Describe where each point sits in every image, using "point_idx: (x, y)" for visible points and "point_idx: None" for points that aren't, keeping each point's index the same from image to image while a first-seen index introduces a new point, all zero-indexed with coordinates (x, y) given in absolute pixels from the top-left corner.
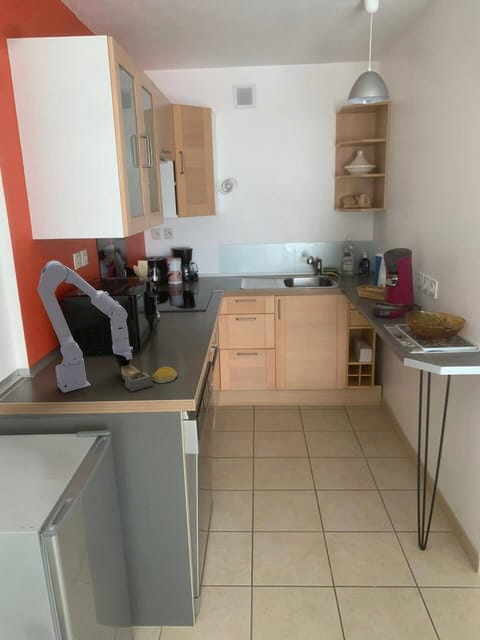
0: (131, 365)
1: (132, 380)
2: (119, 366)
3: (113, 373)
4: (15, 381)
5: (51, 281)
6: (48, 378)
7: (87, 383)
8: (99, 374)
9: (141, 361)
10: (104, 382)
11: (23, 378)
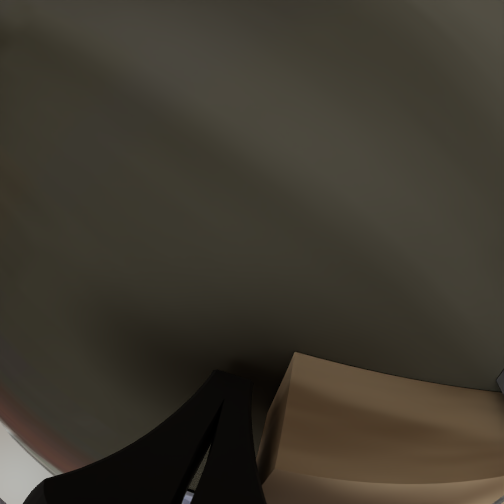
0: (341, 481)
1: (501, 499)
2: (191, 479)
3: (110, 364)
4: (31, 456)
5: None
6: (38, 443)
7: (190, 499)
8: (78, 396)
9: (39, 34)
10: None
11: (18, 442)
